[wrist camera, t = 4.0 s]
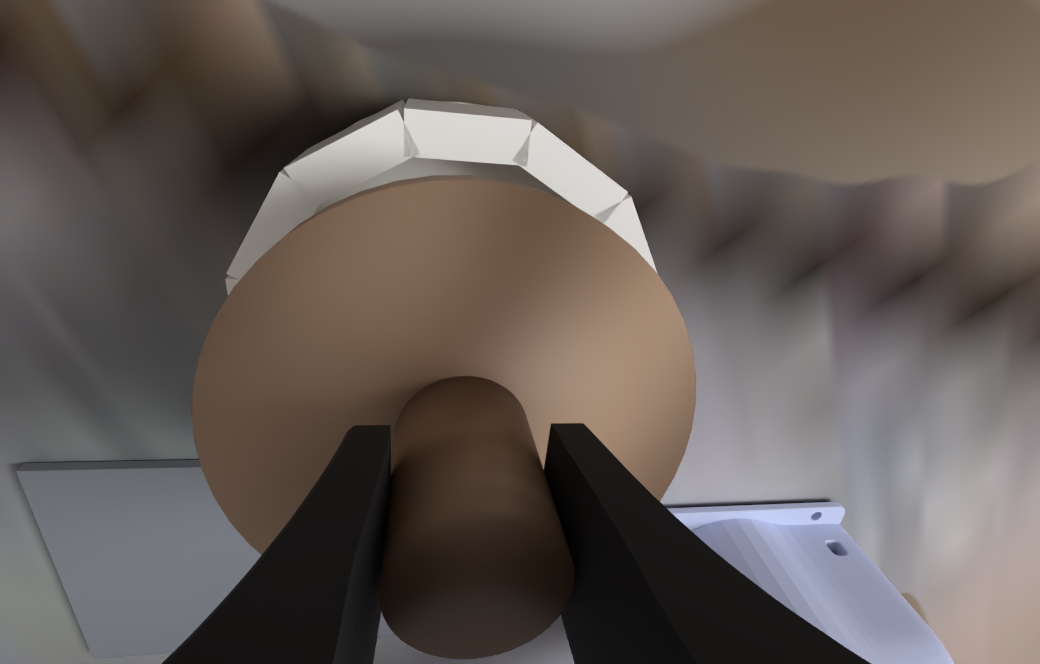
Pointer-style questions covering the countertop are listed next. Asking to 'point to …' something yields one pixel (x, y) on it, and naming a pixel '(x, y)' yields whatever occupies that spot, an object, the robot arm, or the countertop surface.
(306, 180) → the bowl
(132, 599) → the mat
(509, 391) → the lid
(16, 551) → the countertop surface
